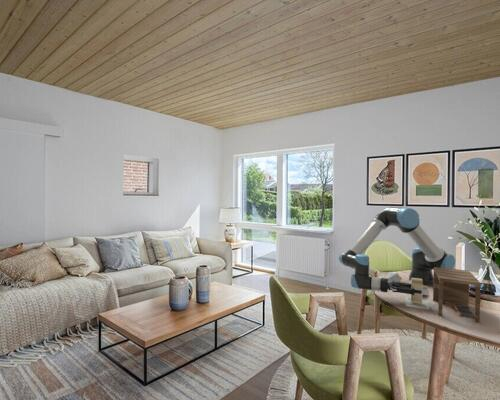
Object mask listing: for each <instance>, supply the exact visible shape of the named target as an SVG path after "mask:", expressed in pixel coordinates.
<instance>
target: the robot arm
mask: <svg viewBox="0 0 500 400" xmlns="http://www.w3.org/2000/svg"><path fill="white" fill-rule="evenodd" d="M371 221H372V222H371V224H370V225H368V227H367V228H366V229H365V231H364V232H363V233H362V234H361V235H360V236H359V238H358V239H356V241H355V242H354V243H353V244H352V245H351V247H350V248H349V249H348V250H347V251H346V252H342V253H340V255H339V257H338V262H339V263H340V264H342V265H343V266H346V267H347V268H348V267H349V268H350V269H354V274H351V278H350V286H351V287H352V288H355V289H359V290H366V291H367V290H368V291H373V292H374V293H375V292H379V291H380V292H381V293H388V292H389V291H392V293H398V294H399V293H400V294H406V295H411V294H412V295H414V294H422V296H429V295H430V290H429V287H428V286H424V285H433V277H434V273H433V270H434V267H438V268H448V269H455V266H456V257H455V256H454V254H453V255H452V254H450V253H447V252H446V251H445V250H444V248H443V247H439V246H437V244H436V243H435V242H434V241H433V239H432V238H431V237H430V236H429V235H428V234H427V233H426V231H425V230H424V229H423V227H422V226H420V214H419V213H418V211H417V210H415V209H414V208H410V207H398V206H396V207H395V206H389V207H386V208H384V209H382V210H381V211H379V212H378V213H377V214H376V215H375V216H374V217H373V219H372V220H371ZM390 226H392V227H393V226H394V227H397V228H398V229H399V230H400V231H401V232H402V233H404V234H407V236H408V237H409V238H410V239H411V240H412V241H413V242H414V244H415V245H416V246H417V247H413V249H412V254H411V257H412V258H411V265H412V266H411V271H410V272H409V275H408V280H409V281H410V280H411V278H419V279H422V280H423V289H418V288H415V289H414V288H411V284H410V283H408V282H401V281H400V282H395V281H393V282H388V279H386V277H378V276H377V277H376V276H370V256H369V255H367V254H364V252H365V251H366V250H367V249H368V248H369V247H370V246H371V245H372V243H373V242H374V241H375V239H376V238H378V236H379V235H380V234H381V233H382V231H383V230H386V229H387V228H389V227H390ZM388 290H389V291H388Z"/></svg>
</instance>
